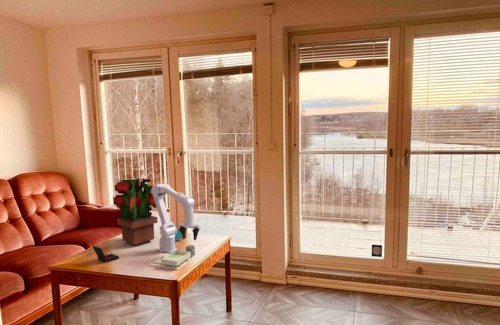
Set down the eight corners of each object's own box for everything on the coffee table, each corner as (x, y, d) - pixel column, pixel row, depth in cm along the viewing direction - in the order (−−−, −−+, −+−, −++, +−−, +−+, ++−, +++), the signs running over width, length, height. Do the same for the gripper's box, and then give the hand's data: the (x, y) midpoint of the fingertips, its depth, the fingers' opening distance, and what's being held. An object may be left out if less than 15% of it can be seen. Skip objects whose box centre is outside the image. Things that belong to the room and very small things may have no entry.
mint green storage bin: (161, 265, 190) (161, 259, 189) (176, 256, 204) (176, 250, 204) (176, 268, 186) (176, 261, 186) (190, 258, 200) (190, 251, 200)
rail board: (149, 265, 193) (149, 263, 193) (163, 256, 206) (163, 255, 206) (177, 269, 187) (177, 267, 187) (190, 260, 200) (190, 258, 200)
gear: (166, 238, 239) (174, 226, 244) (170, 242, 243) (177, 230, 248) (177, 242, 234) (185, 230, 238) (181, 246, 238) (188, 234, 243)
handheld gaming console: (119, 258, 206) (118, 243, 205) (100, 265, 196) (99, 248, 195) (111, 255, 211) (110, 240, 211) (92, 261, 202) (91, 245, 201)
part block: (186, 256, 207) (185, 247, 206) (189, 254, 210) (188, 244, 210) (191, 257, 205) (191, 247, 205) (194, 254, 209) (194, 245, 208)
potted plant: (115, 243, 235) (112, 180, 231) (143, 235, 252) (140, 176, 248) (132, 250, 221) (128, 182, 217) (161, 241, 237) (158, 178, 233)
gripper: (175, 218, 205) (176, 240, 206) (196, 220, 200) (196, 242, 201) (181, 215, 211) (182, 236, 212) (201, 217, 206) (202, 238, 207)
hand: (189, 239), depth 207 cm, fingers open, 7 cm apart
